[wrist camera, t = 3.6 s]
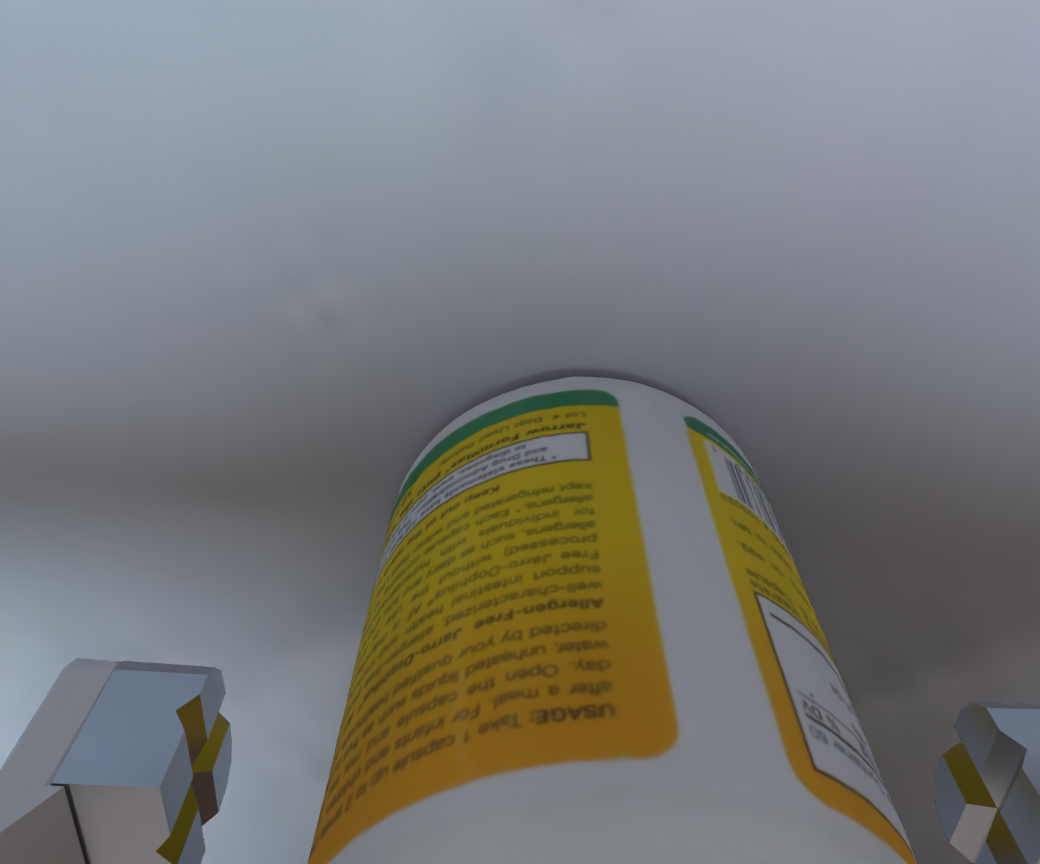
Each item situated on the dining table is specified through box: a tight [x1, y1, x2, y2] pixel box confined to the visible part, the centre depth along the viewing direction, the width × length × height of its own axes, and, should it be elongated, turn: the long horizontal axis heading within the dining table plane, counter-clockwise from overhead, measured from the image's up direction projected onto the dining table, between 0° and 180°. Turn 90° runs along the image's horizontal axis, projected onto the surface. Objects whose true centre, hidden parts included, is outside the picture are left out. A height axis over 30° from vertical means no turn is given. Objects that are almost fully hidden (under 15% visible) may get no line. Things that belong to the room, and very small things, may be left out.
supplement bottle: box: [308, 377, 917, 864], centre depth 9 cm, size 5×5×10 cm
